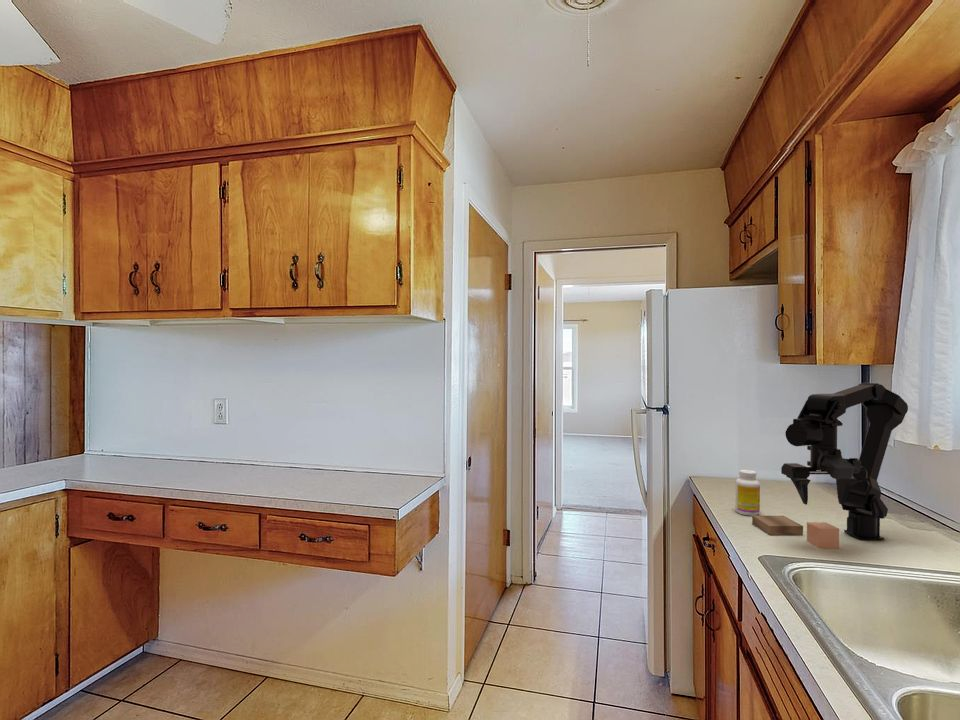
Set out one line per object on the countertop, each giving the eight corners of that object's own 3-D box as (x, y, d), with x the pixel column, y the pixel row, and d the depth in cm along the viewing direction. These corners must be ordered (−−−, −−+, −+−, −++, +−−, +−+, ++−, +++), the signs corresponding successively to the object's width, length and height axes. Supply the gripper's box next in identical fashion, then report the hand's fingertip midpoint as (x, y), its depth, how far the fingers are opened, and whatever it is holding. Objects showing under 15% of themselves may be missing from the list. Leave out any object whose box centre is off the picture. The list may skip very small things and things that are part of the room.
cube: (825, 541, 136) (826, 522, 136) (838, 548, 131) (839, 528, 131) (806, 541, 136) (806, 522, 136) (819, 548, 131) (819, 528, 131)
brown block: (783, 524, 149) (783, 515, 149) (803, 535, 140) (803, 526, 140) (752, 524, 149) (752, 515, 149) (769, 535, 140) (769, 525, 140)
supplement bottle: (762, 517, 155) (763, 474, 155) (738, 515, 157) (739, 473, 156) (755, 510, 162) (756, 469, 162) (732, 509, 163) (733, 468, 163)
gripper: (806, 449, 125) (806, 513, 125) (884, 449, 125) (883, 514, 125) (780, 441, 136) (779, 500, 136) (851, 441, 136) (851, 500, 136)
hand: (823, 504), depth 133 cm, fingers open, 9 cm apart
